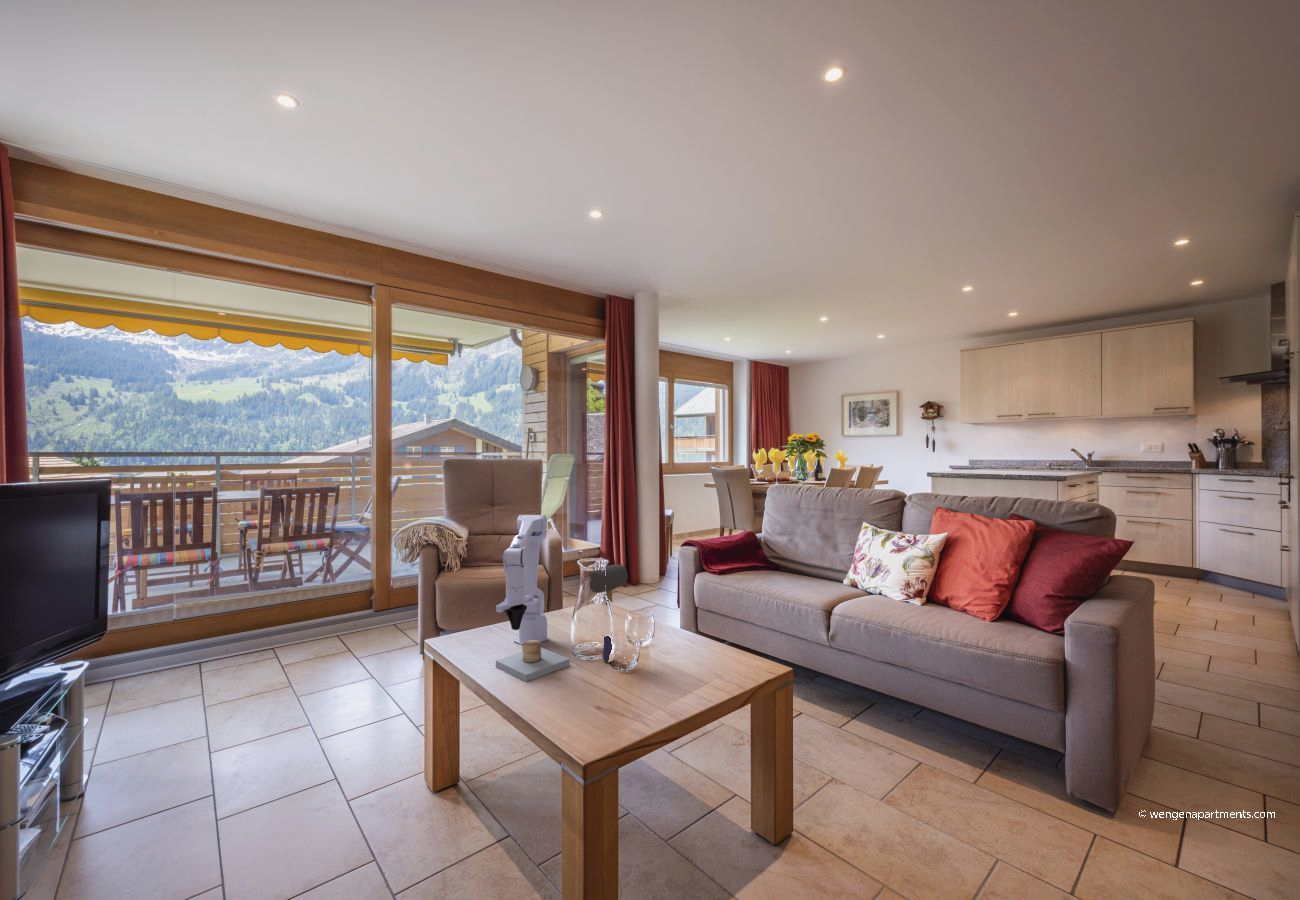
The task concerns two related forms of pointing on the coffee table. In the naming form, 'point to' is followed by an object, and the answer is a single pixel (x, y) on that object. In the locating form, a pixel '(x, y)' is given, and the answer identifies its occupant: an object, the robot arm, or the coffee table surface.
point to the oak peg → (532, 651)
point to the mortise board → (532, 665)
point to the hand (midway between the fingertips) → (515, 629)
